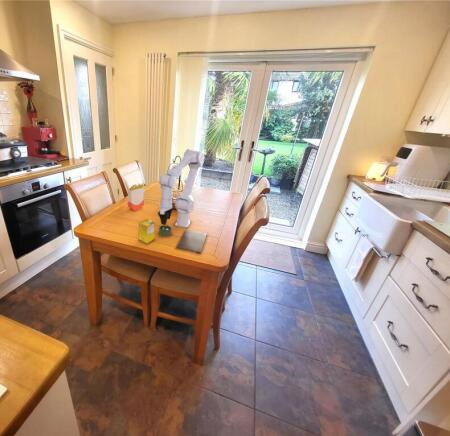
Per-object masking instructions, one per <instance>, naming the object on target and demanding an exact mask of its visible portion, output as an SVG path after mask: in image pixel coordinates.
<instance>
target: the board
mask: <svg viewBox="0 0 450 436" xmlns="http://www.w3.org/2000/svg"><path fill="white" fill-rule="evenodd" d="M207 235H208V233H206V232H200V231H194V230H189V229H186V230H185V231H184V233H183V235H182V236H181V239H180V240H179V242H178V244H177V246H176V249H179V250H185V251H189V252H193V253H195V254H198V255H199V254H200V255H201V253H202V250H203V248H204V244H205V241H206V239H207Z"/></svg>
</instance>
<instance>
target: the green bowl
mask: <svg viewBox="0 0 450 436" xmlns="http://www.w3.org/2000/svg"><path fill="white" fill-rule="evenodd" d="M163 228H164V225H160V226H159V227H158V235H159V236H160V237H164V238H167V237H170V236H172V230H173V229H172V227H171V226H170V225H167V228H168V231H164V230H162V229H163Z"/></svg>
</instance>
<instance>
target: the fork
mask: <svg viewBox="0 0 450 436" xmlns="http://www.w3.org/2000/svg"><path fill="white" fill-rule="evenodd" d="M168 220H169V219H167V221H166V224H165V225H164V228H163V229H162V230H164V231H168V228H167V226H168V222H169V221H168Z"/></svg>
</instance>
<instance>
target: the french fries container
mask: <svg viewBox="0 0 450 436" xmlns="http://www.w3.org/2000/svg"><path fill="white" fill-rule="evenodd" d="M144 205H145V187H144V183H138V184H132V185H131V186H130V187H129V189H128V191H127V208H129V209H131V210H132V211H138V210H141V209H142V208H143V207H144Z"/></svg>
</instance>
